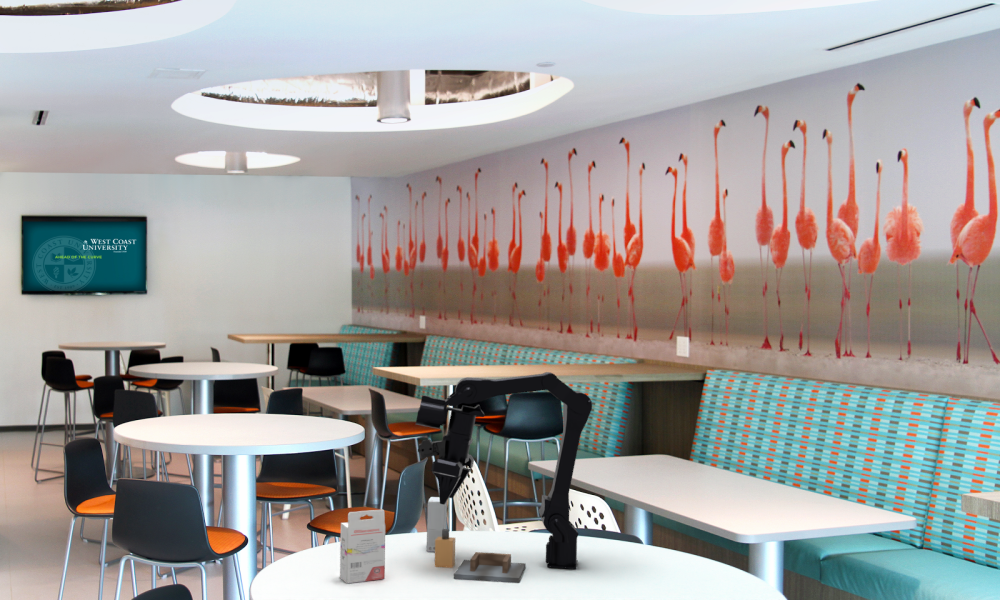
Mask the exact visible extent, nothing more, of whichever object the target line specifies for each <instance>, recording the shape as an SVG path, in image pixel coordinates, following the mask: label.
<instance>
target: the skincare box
mask: <svg viewBox="0 0 1000 600" xmlns="http://www.w3.org/2000/svg"><path fill="white" fill-rule="evenodd" d="M447 503H448V500H447V501H446V503H445V504H444V505H443V504H440V498H439V496H430V498H428V501H427V517H426V518H427V521H426V524H427V525H426V526H427V527H426V552H428V553H429V552H434V553H435V540H436V539H437V537H442V529H447V512H448V511H447V510H448V509H447V508H448V507H447V506H448V504H447Z"/></svg>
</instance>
